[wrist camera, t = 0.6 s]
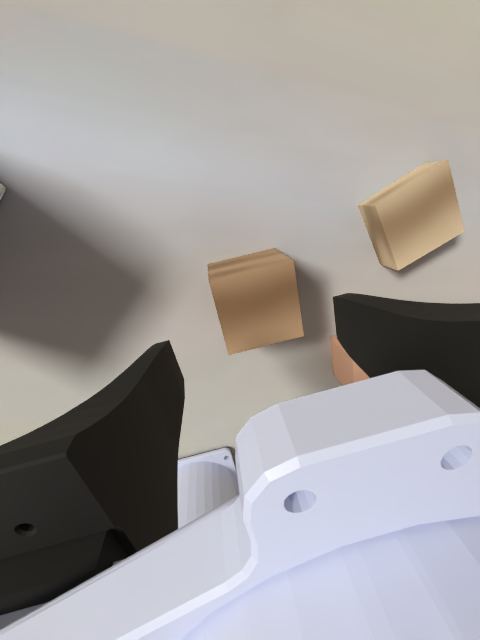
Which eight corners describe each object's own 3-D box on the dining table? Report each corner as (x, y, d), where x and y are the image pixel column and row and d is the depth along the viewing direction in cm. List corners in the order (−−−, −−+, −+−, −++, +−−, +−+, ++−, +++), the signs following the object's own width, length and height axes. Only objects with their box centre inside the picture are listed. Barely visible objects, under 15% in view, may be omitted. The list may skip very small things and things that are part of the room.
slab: (436, 228, 21) (464, 231, 19) (377, 263, 22) (398, 270, 20) (419, 164, 19) (448, 159, 17) (355, 205, 20) (375, 205, 18)
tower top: (292, 320, 20) (303, 336, 18) (225, 337, 20) (228, 354, 18) (282, 253, 18) (293, 260, 16) (208, 271, 18) (209, 281, 16)
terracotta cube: (375, 363, 26) (403, 390, 22) (333, 374, 25) (354, 403, 22) (374, 325, 24) (405, 347, 20) (330, 336, 24) (352, 360, 20)
